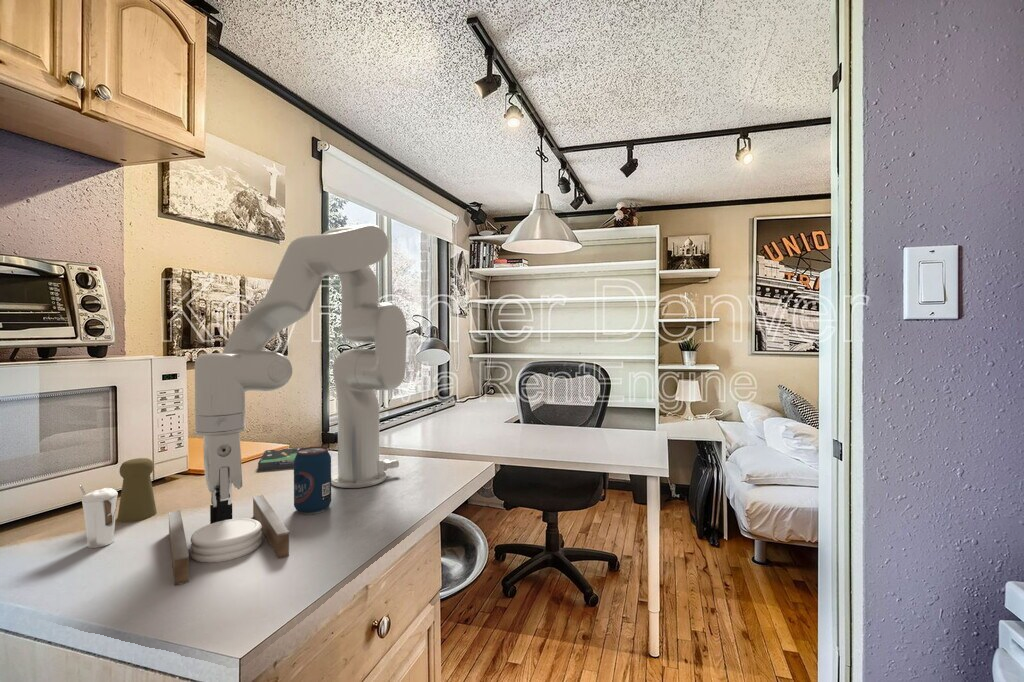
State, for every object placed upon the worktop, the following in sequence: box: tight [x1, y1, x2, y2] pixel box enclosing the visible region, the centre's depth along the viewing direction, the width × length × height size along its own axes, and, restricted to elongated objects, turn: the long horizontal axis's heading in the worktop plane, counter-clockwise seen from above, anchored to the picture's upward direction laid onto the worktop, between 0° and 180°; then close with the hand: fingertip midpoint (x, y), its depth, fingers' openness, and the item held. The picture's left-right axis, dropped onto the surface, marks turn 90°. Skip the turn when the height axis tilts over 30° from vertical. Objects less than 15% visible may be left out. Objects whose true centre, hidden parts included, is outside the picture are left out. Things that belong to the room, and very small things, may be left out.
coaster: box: [190, 517, 263, 563], centre depth 78 cm, size 10×10×4 cm
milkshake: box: [79, 484, 119, 549], centre depth 80 cm, size 4×5×10 cm
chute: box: [168, 494, 290, 586], centre depth 80 cm, size 15×22×4 cm
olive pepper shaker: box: [116, 457, 158, 523], centre depth 92 cm, size 6×6×11 cm
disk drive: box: [257, 447, 303, 472], centre depth 132 cm, size 10×3×15 cm
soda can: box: [293, 446, 332, 515], centre depth 96 cm, size 7×7×12 cm
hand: (221, 526), depth 84 cm, fingers closed
